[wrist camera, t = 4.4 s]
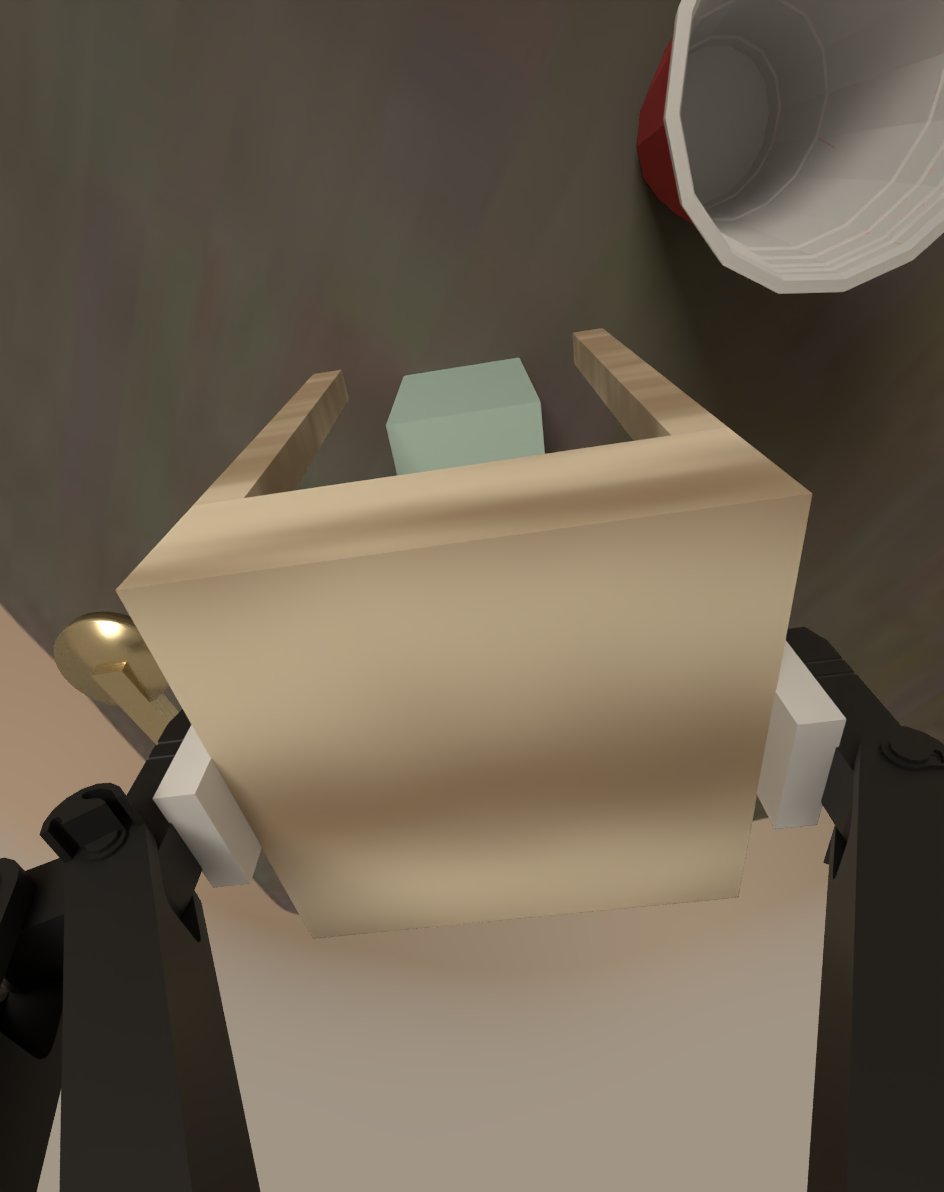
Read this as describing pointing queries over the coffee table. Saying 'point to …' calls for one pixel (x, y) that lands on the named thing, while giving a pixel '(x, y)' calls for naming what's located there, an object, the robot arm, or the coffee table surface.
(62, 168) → the coffee table surface
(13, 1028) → the robot arm
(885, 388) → the coffee table surface
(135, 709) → the balance
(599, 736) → the wooden stool
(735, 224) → the plastic cup
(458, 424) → the block
